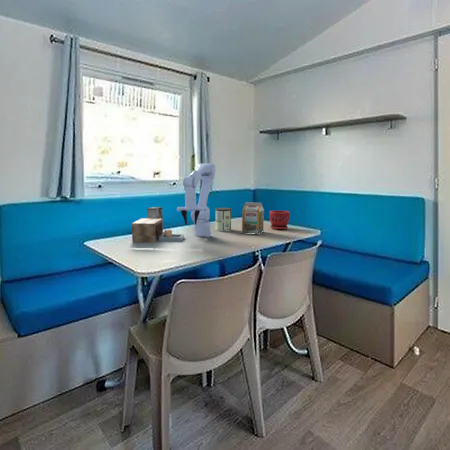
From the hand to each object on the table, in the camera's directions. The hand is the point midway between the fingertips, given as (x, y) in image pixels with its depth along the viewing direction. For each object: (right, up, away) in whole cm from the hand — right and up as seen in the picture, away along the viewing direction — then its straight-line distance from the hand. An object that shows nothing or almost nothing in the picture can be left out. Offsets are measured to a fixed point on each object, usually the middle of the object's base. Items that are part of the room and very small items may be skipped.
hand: (190, 224), depth 185 cm
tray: (-11, -9, +2) cm, 14 cm away
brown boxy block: (-23, -9, +3) cm, 25 cm away
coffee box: (-23, -6, +22) cm, 32 cm away
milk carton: (+36, -5, +28) cm, 46 cm away
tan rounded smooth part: (-12, -8, +2) cm, 15 cm away
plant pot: (+55, -3, +43) cm, 70 cm away
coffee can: (+17, -4, +37) cm, 41 cm away
